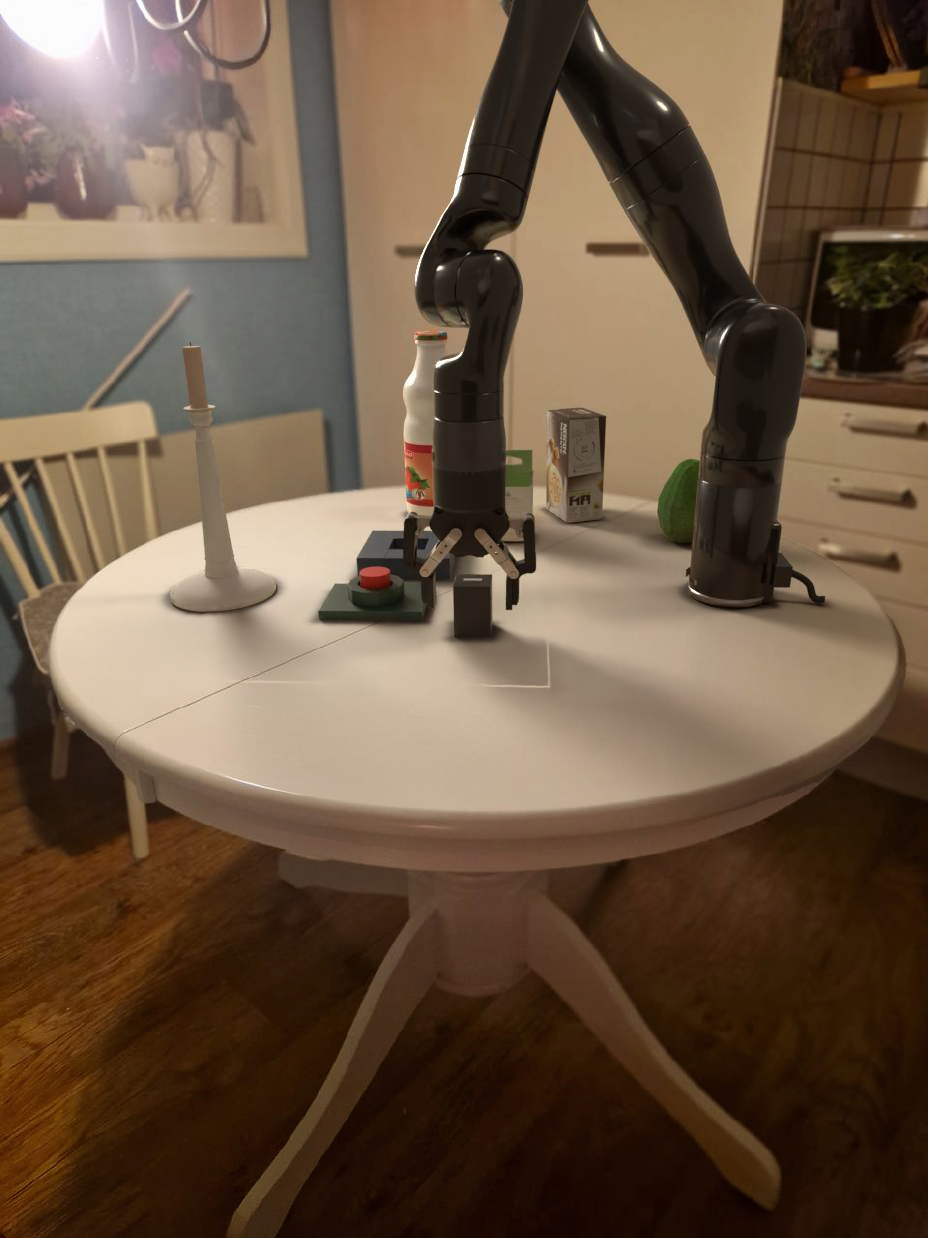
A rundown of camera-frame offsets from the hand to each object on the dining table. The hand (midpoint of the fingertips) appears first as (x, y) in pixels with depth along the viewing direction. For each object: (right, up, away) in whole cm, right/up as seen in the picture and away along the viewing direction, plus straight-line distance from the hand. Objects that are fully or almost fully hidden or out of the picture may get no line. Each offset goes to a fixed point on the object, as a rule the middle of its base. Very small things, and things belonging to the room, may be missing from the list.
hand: (470, 606), depth 95 cm
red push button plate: (-11, 0, +8) cm, 14 cm away
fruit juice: (-5, +15, +45) cm, 47 cm away
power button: (-11, +3, +7) cm, 13 cm away
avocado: (+31, +10, +29) cm, 43 cm away
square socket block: (-8, +6, +22) cm, 24 cm away
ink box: (+6, +10, +32) cm, 34 cm away
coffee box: (+17, +15, +43) cm, 49 cm away
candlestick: (-31, +2, +13) cm, 33 cm away
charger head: (0, -3, +1) cm, 3 cm away
